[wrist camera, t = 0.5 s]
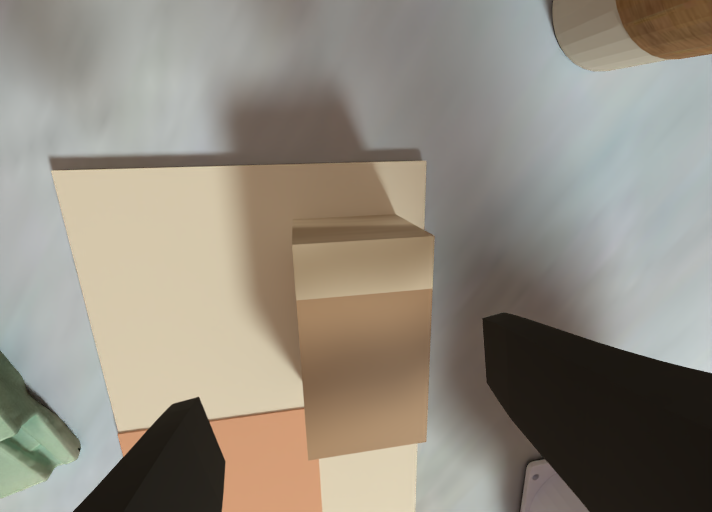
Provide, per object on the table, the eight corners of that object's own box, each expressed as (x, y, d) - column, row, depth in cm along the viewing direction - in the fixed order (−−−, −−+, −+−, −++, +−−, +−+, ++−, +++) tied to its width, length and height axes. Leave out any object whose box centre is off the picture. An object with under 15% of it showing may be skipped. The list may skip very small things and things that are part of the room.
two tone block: (394, 373, 20) (426, 441, 15) (304, 384, 19) (308, 460, 14) (395, 214, 17) (434, 236, 12) (292, 219, 16) (292, 244, 12)
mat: (411, 524, 24) (414, 533, 23) (160, 574, 21) (156, 585, 21) (422, 160, 17) (427, 160, 17) (59, 170, 15) (49, 170, 14)
